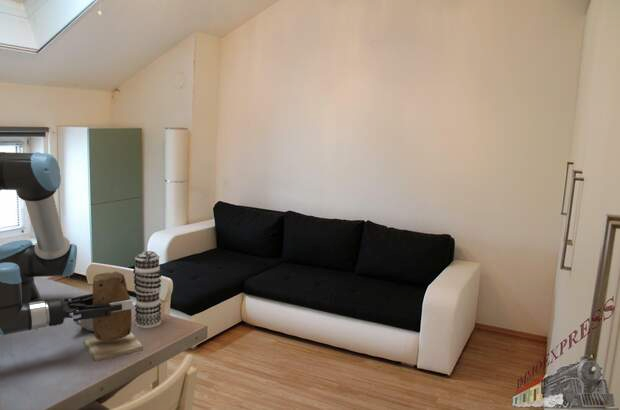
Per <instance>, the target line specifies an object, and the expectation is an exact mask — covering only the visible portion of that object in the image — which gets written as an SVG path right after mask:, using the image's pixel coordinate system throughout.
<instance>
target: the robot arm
mask: <svg viewBox="0 0 620 410" xmlns="http://www.w3.org/2000/svg"><path fill="white" fill-rule="evenodd" d="M61 180H62V179H61V170H60V166H59V163H58V161H57V159H56V158H55V156H54V155H53V154H50V153H43V152H11V151H10V152H5V151H0V191H2V190H5V191H16V194H17V197H18V198H19V199H20V200H22V201H24V203H25V206H26V210H27V213H28V215H29V216H28V217H29V220H30V224H31V226H32V230H33V234H34V237H35V240H36V243H35V244H33V243H34V242H33V241H32V240H30V239H21V240H14V241H10V242H6V243H3V244H1V245H0V336H6V335H10V334H11V335H12V334H17V333H20V332H26V331H31V330H32V331H33V330H34V331H38V330H39V329H42V328H46V327H47V326H49V327H54V326H60V325H63V324H64V322H65V320H64V319H69V318H71V319H72V321H73V322H74V321H78V322H80V320H83V319H91V318H99V317H107V316H111V312H117V311H122V310H128V309H131V310H132V309H133V308H134V307H133V299H131V298H130V299H131V300H125V301H119V302H113V303H110V305H93V292H92V293H89V294H84V295H80V296H79V295H78V296H74V297H67V298H64V299H63V302H62V299H61V298H59V297H58V298H52V299H47V300H46V301H44V300H41V294H40V292H39V289H38V287H37V285H36V283H35V278H42V277H43V278H47V277H49V278H52V277H53V278H54V277H56V278H57V277H59V278H63V277H68V276H69V277H70V276H72V275H73V274H74V272H75V270H76V267H77V265H76V264H77V259H78V257H77V256H78V246H77V245H76V244H74V243H70V240H69V239H68V238H67V237H66V236H64V233H63V228H62V224H61V221H60V216H59V213H58V208H57V205H56V201H55V194H56V192H57V190H58V189H59V188H60V186H61Z"/></svg>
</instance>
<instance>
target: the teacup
mask: <svg viewBox="0 0 620 410" xmlns="http://www.w3.org/2000/svg"><path fill="white" fill-rule="evenodd" d="M73 322H74V324H75V325H77V326H79V327H81V328H83V329H85V330H87V331H89V332H94V328H93V318H91V319H83V320H79V321H73Z"/></svg>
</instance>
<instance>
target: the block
mask: <svg viewBox="0 0 620 410" xmlns="http://www.w3.org/2000/svg"><path fill="white" fill-rule="evenodd" d="M92 281H93V282H92V293H93V305H110V303H113V302H119V301H125V300H131V297H130V295H129V292H128V288H127V282H126V278H125V275H124V274H123V273H121V272H119V271H114V272H113V271H112V272H103V273H102V272H101V273H98V274H95V275H94V277H93V279H92ZM93 328H94V331H93V333H94V337H96V339H98V340H101V341H113V340H117V339H119V338H123V337H126V336H127V335H129V334H130V331H132V309H128V310H122V311H117V312H111V316H107V317H99V318H93Z"/></svg>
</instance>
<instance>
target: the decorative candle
mask: <svg viewBox="0 0 620 410" xmlns="http://www.w3.org/2000/svg"><path fill="white" fill-rule="evenodd" d="M134 259H135V266H134V269H133V272H132V273H133V274H134V275H133V284H134V293H135V296H136V298H135V304H134V307H135V310H134V311H135V313H134V317H135V318H134V320H135V327H138V328H141V329H150V328H154V327H158V326H160V325H161V323H162V316H161V315H162V312H161V309H162V307H161V306H162V303H161V298H160V292H161V288H162V284H161V282H162V280H161V279H160V278H161V277H162V274H161V273H162V272H163V271H162V269H160V268H161V267H160V256H159V255H158V254H157V253H156V252H155V251H152V250H145V251H141V252H138V254H137V255H136V256H134Z"/></svg>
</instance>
